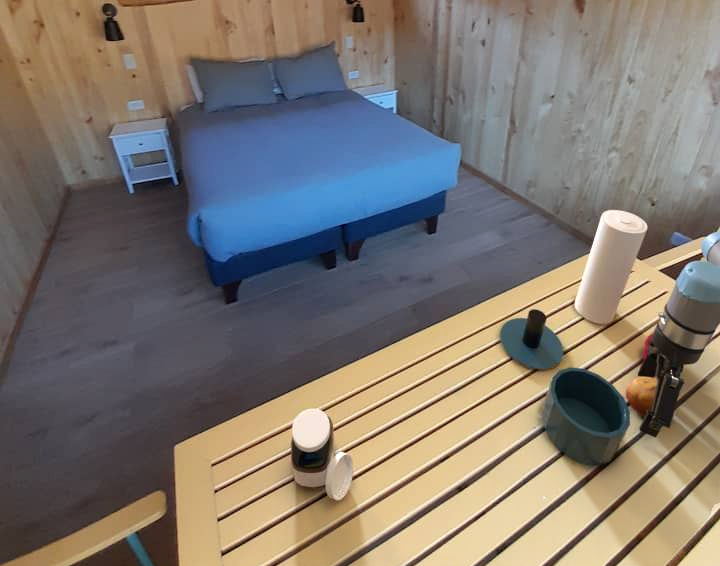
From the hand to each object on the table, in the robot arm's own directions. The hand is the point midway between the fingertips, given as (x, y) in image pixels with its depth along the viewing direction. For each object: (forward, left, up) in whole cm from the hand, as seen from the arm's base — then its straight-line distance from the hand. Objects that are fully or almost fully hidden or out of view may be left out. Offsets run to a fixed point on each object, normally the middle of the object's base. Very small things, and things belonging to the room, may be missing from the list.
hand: (645, 403), depth 85 cm
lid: (+24, -4, -1) cm, 24 cm away
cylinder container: (+11, -24, -1) cm, 26 cm away
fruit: (0, 0, -1) cm, 1 cm away
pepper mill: (-3, -14, -1) cm, 14 cm away
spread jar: (+53, +44, -1) cm, 69 cm away
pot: (+12, +12, -1) cm, 17 cm away
